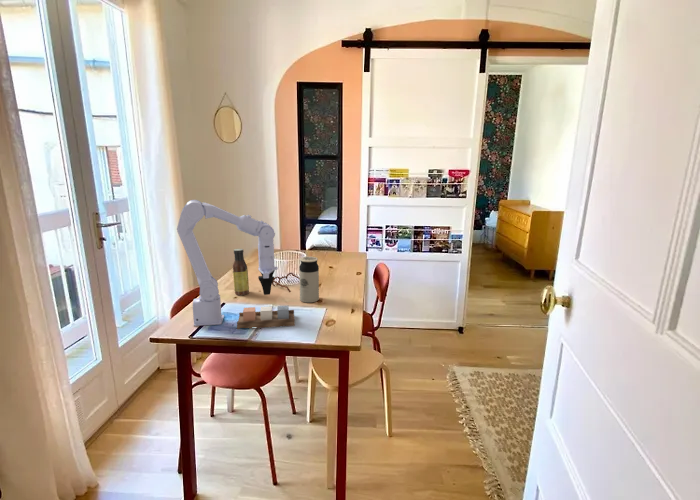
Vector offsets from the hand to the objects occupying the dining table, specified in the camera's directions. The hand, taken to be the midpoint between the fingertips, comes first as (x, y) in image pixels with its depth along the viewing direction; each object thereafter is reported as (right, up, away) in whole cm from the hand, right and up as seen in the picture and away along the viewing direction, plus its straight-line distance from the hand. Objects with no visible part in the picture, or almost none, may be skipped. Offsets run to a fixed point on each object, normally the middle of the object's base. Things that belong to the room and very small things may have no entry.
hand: (267, 291), depth 148 cm
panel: (+1, -11, -5) cm, 12 cm away
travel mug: (+14, -6, +18) cm, 23 cm away
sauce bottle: (-16, -4, +24) cm, 30 cm away
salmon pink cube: (-5, -9, -7) cm, 13 cm away
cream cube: (+1, -9, -6) cm, 11 cm away
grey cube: (+7, -9, -5) cm, 12 cm away
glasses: (+4, -2, +35) cm, 35 cm away
